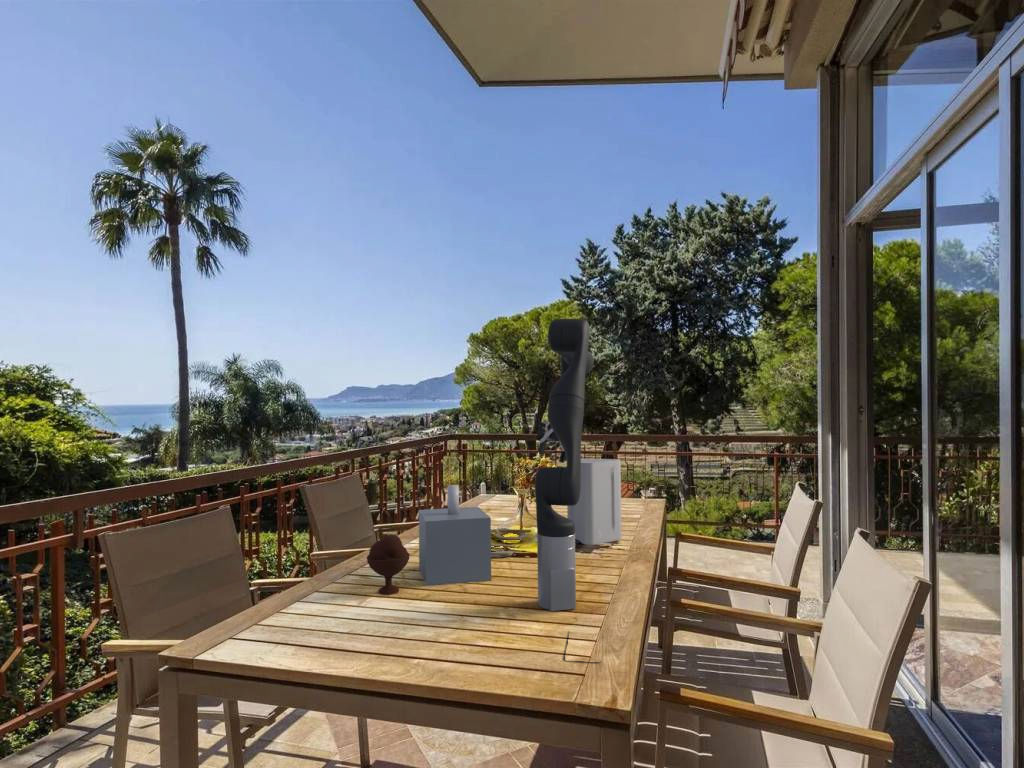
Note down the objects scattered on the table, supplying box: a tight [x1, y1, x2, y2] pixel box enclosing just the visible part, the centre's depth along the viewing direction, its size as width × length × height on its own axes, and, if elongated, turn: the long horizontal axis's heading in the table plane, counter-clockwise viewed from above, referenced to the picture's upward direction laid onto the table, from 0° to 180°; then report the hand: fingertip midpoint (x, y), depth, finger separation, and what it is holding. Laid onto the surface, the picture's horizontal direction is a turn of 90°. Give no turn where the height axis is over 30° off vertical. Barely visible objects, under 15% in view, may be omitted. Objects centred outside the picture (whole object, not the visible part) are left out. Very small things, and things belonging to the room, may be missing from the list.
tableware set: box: [491, 528, 532, 559], centre depth 209 cm, size 35×29×4 cm
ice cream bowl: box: [366, 534, 411, 596], centre depth 159 cm, size 11×11×15 cm
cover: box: [418, 484, 492, 587], centre depth 174 cm, size 18×18×25 cm
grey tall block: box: [566, 458, 623, 546], centre depth 215 cm, size 19×15×28 cm
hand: (551, 458), depth 196 cm, fingers open, 8 cm apart
